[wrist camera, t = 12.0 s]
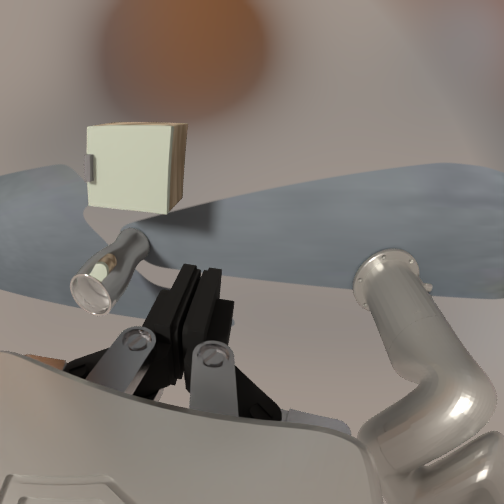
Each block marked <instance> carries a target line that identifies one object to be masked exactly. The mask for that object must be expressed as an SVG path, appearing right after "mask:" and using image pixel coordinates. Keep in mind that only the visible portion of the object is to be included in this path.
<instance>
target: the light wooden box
mask: <svg viewBox="0 0 504 504" xmlns="http://www.w3.org/2000/svg"><path fill="white" fill-rule="evenodd" d="M105 125H164V126H174V131H173V143H172V158H171V175H170V199H169V211H170V210H171V209H172V208H173V207H174V206H175V205H176V204H177V203H178V202H179V201H180V200H181V199H182V196H183V179H184V164H185V151H186V139H187V129H188V124H183V123H157V122H120V123H119V122H118V123H108V124H102V125H95V126H105Z"/></svg>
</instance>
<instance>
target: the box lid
mask: <svg viewBox="0 0 504 504" xmlns="http://www.w3.org/2000/svg"><path fill="white" fill-rule="evenodd" d="M173 131H174V126H164V125H105V126H89V127H87V154H86V155H84V174H85V175H84V176H85V182H87V183H88V201H89V206H96V207H105V208H114V209H123V210H133V211H141V212H150V213H158V214H166V215H167V214H168V213H169V199H170V175H171V158H172V143H173Z"/></svg>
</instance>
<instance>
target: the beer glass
mask: <svg viewBox="0 0 504 504" xmlns="http://www.w3.org/2000/svg"><path fill="white" fill-rule="evenodd" d="M149 250H150V245H149V241H148V239H147V237H146V236H145V235H144V234H143V233H142V232H141V231H139V230H138V229H135V228H127V229H124V230H123V231H121V233H120V234H119V236H118V237H117V239H116V240H115V242H114V243H112V244H110V245H109V246H107V247H105V248H103V249H102V250H100V251H98V252H97V253H96V254H94V255H93V256H92V257H91V258H89V259H88V260H87V261H86V262H85V264H84V265H83V266H82V267H81V268H80V269H79V271H78V272H77V273H76V275H75V276H74V277H73V278H72V280H71V283H70V289H71V293H72V296H73V298H74V299H75V301H76V302H77V304H78V305H79V306H80V307H81V308H82V309H83V310H85V311H86V312H88V313H90V314H92V315H96V316H104V315H106V314H108V313H109V312H110V310H111V309H112V307H113V306H114V305H115V304H116V303H117V302H118V300H119V299H120V298H121V296H122V295H123V294H124V292H125V290H126V289H127V287H128V285H129V283H130V281H131V278H132V276H133V273H134V271H135V268H136V266H137V265H138V263H139V262H140V261H141V260H143V259H145V258H146V257H147V255H148V254H149Z"/></svg>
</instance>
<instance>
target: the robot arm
mask: <svg viewBox="0 0 504 504" xmlns="http://www.w3.org/2000/svg"><path fill="white" fill-rule="evenodd" d="M221 275H222V269H216V268H209V269H208V271H207V270H204V271H203V274H202V276H201V270H200V269H197V266H196V265H189V264H184V265H183V266H182V268H181V270H180V272H179V274H178V276H177V279H176V280H175V282H174V284H173V286H172V288H171V290H170V291H169V290H161V292H160V293H159V295H158V297H157V299H156V301H155V303H154V304H153V306H152V308H151V310H150V312H149V314H148V316H147V318H146V320H145V322H144V324H143V326H142V327H141V326H134V327H130V328H127V329H125V330H124V331H123V332H122V333H121V334H120V335H119V336H118V338H117V339H116V340H115V341H114V343H113V344H112V345H111V346H110V348H107V349H104V350H101V351H98V352H95V353H93V354H90V355H87V356H84V357H81V358H78V359H75V360H73V361H71V362H69V363H66V360H60V359H54V358H48V357H42V356H36V355H31V354H26V355H21V354H18V353H14V352H9V351H0V504H383V498H384V499H385V501H386V503H387V504H504V435H503V434H501V433H500V432H497V431H490V432H488V433H485V434H483V435H481V436H479V437H477V438H476V439H474V440H472V441H471V442H469V443H468V444H466V445H464V446H463V447H461V448H459V449H458V450H456V451H454V452H453V453H451V454H450V455H448V456H446V457H444V458H442V459H441V460H439V461H437V462H435V463H433V464H431V465H429V466H424V465H425V464H426V463H429V462H430V461H432V460H434V459H436V458H439V457H441V456H442V455H444V454H446V453H447V452H449V451H451V450H453V449H454V448H456V447H457V446H459V445H461V444H462V443H464V442H465V441H467V440H468V439H470V438H471V437H472V436H474V435H475V434H476V433H478V432H479V431H480V429H482V428H483V427H484V426H485V425H486V423H487V422H488V421H489V420H490V418H491V417H492V415H493V413H494V411H495V408H496V404H497V395H496V390H495V388H494V386H493V384H492V382H491V380H490V379H489V377H488V376H487V374H486V373H485V372H484V371H483V369H482V368H481V367H480V366H479V365H478V363H477V362H476V361H475V360H474V359H473V357H472V356H471V355H470V354H469V352H468V351H467V350H466V348H465V347H464V346H463V344H462V343H461V341H460V340H459V338H458V337H457V335H456V334H455V332H454V331H453V329H452V328H451V326H450V324H449V323H448V322H447V320H446V319H445V317H444V315H443V314H442V312H441V311H440V309H439V308H438V306H437V305H436V303H435V302H434V301H433V299H432V296H431V295H430V294H429V293H428V292H430V291H431V290H432V284H428V283H423V282H422V280H421V279H420V278H419V267H418V264H417V262H416V261H415V259H414V258H413V257H412V256H411V255H410V254H409V253H408V252H406V251H404V250H401V249H386V250H382V251H380V252H377V253H375V254H374V255H372V256H370V257H369V258H368V259H367V260H366V261H365V262H364V263H363V264H362V265H361V266H360V268H359V269H358V271H357V272H356V275H355V277H354V281H353V293H354V296H355V299H356V301H357V302H358V304H359V305H360V306H361V307H362V308H364V309H366V310H368V311H371V314H372V316H373V318H374V321H375V323H376V326H377V328H378V331H379V333H380V336H381V338H382V341H383V343H384V346H385V349H386V351H387V354H388V356H389V359H390V361H391V364H392V366H393V368H394V370H395V371H396V372H397V374H398V375H399V376H401V377H402V378H404V379H406V380H408V381H411V382H414V383H417V384H419V385H418V387H417V388H416V389H414V390H413V391H412V392H410V393H409V394H408V395H407V396H405V397H404V398H402V399H401V400H399V401H398V402H396V403H395V404H393V405H391V406H390V407H388V408H386V409H385V410H383V411H382V412H380V413H379V414H377V415H375V416H374V417H372V418H371V419H369V420H368V421H367V422H366V423H365V424H364V425H363V426H362V427H361V428H360V430H359V432H358V435H357V439H356V438H354V437H352V436H351V430H350V428H349V427H348V425H347V424H345V423H344V422H343V421H340V420H338V419H332V418H328V417H323V416H318V415H314V414H309V413H305V412H301V411H297V410H293V409H290V410H289V411H287V410H283V409H280V408H279V407H278V405H277V404H276V403H275V402H273V400H272V399H270V398H269V397H268V396H267V395H266V394H265V393H264V392H263V391H262V390H260V389H259V388H258V387H257V386H256V385H255V384H254V383H253V382H252V381H251V380H250V379H249V378H247V376H246V375H245V374H243V373H242V372H241V371H240V370H239V369H238V368H237V367H236V366H235V361H234V354H233V351H232V350H231V348H230V347H229V346H228V343H229V336H230V331H231V324H232V317H233V309H234V301H229V300H223V299H219V298H220V286H221ZM427 291H428V292H427ZM183 373H184V377H185V383H186V389H187V390H188V392H189V393H190V405H189V409H188V408H183V407H178V406H174V405H169V404H165V403H161V402H159V400H160V398H161V396H162V394H163V388H165V387H167V386H169V385H175V384H176V381H177V379H182V376H183ZM382 496H383V498H382Z"/></svg>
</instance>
